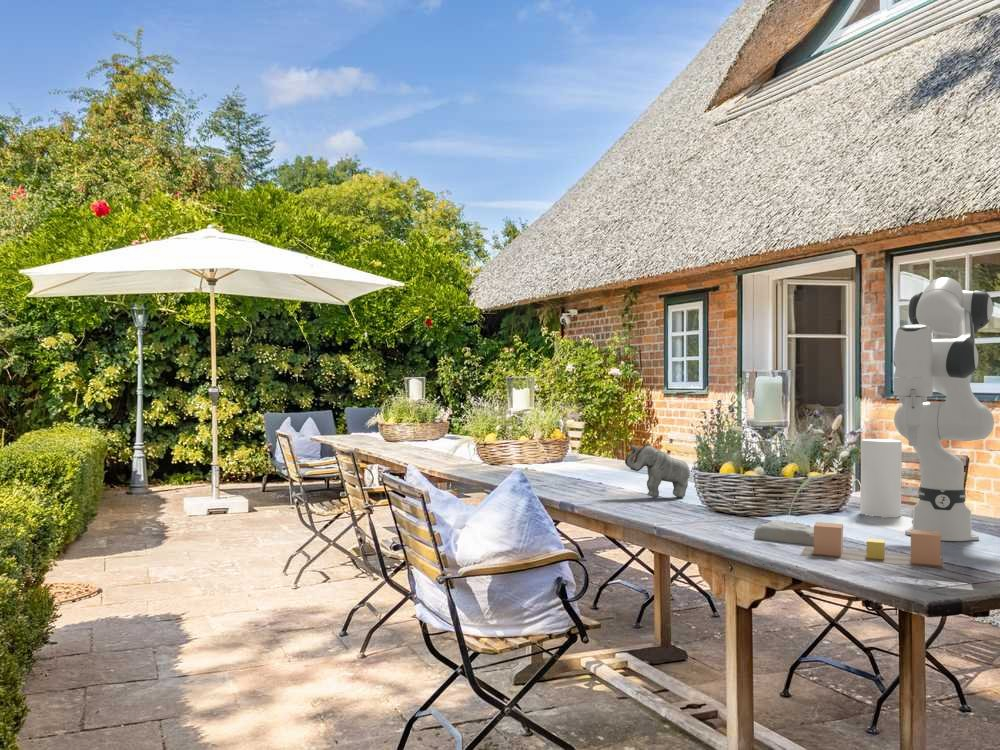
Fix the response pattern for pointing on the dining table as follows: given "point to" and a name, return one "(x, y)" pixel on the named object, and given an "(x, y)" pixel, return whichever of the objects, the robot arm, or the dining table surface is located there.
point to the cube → (875, 549)
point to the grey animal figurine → (660, 469)
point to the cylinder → (881, 477)
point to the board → (862, 557)
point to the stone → (785, 532)
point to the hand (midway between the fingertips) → (912, 444)
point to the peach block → (828, 538)
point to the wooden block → (925, 547)
